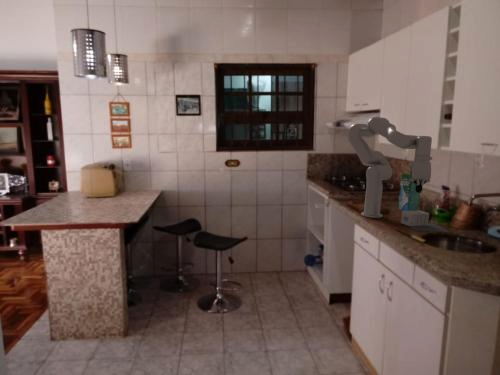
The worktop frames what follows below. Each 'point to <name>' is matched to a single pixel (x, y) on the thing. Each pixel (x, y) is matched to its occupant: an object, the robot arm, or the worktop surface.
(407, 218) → the supplement box
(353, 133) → the robot arm
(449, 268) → the worktop surface
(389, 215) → the worktop surface
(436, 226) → the mat
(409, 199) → the milk carton
